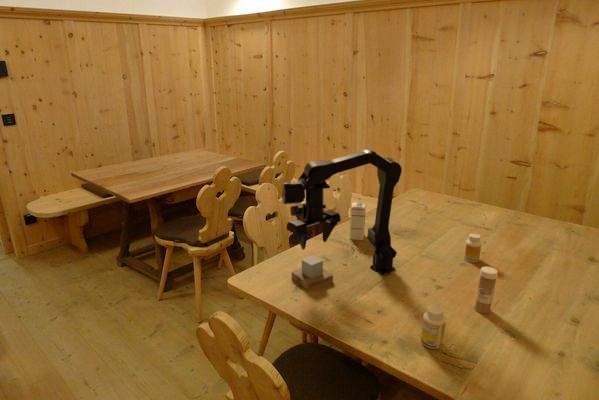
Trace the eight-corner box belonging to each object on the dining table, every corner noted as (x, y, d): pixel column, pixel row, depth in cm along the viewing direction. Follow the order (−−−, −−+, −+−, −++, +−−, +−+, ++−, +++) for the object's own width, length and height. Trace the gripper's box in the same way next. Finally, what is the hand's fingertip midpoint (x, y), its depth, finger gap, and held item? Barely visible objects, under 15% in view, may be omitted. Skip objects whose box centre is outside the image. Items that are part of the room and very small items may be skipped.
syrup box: (363, 240, 167) (365, 207, 162) (349, 239, 168) (350, 206, 163) (364, 234, 172) (366, 202, 167) (350, 233, 173) (351, 201, 168)
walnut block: (332, 283, 136) (333, 275, 135) (309, 292, 130) (309, 284, 129) (314, 271, 144) (314, 263, 143) (291, 279, 138) (291, 271, 137)
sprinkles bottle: (472, 310, 120) (478, 270, 116) (477, 303, 124) (483, 264, 119) (488, 316, 118) (495, 275, 113) (492, 309, 121) (500, 269, 117)
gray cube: (322, 274, 136) (322, 260, 134) (311, 278, 133) (311, 265, 131) (312, 268, 139) (313, 255, 138) (301, 273, 136) (301, 259, 135)
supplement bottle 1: (435, 335, 110) (440, 302, 106) (446, 348, 104) (451, 315, 101) (416, 337, 109) (420, 304, 105) (426, 351, 103) (430, 317, 100)
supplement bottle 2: (480, 263, 148) (484, 239, 145) (464, 262, 149) (468, 238, 146) (477, 256, 153) (481, 233, 150) (462, 255, 154) (465, 232, 151)
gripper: (320, 189, 141) (319, 230, 146) (276, 200, 130) (277, 244, 136) (342, 197, 133) (340, 241, 138) (297, 210, 122) (297, 256, 127)
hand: (314, 245), depth 135 cm, fingers open, 9 cm apart
